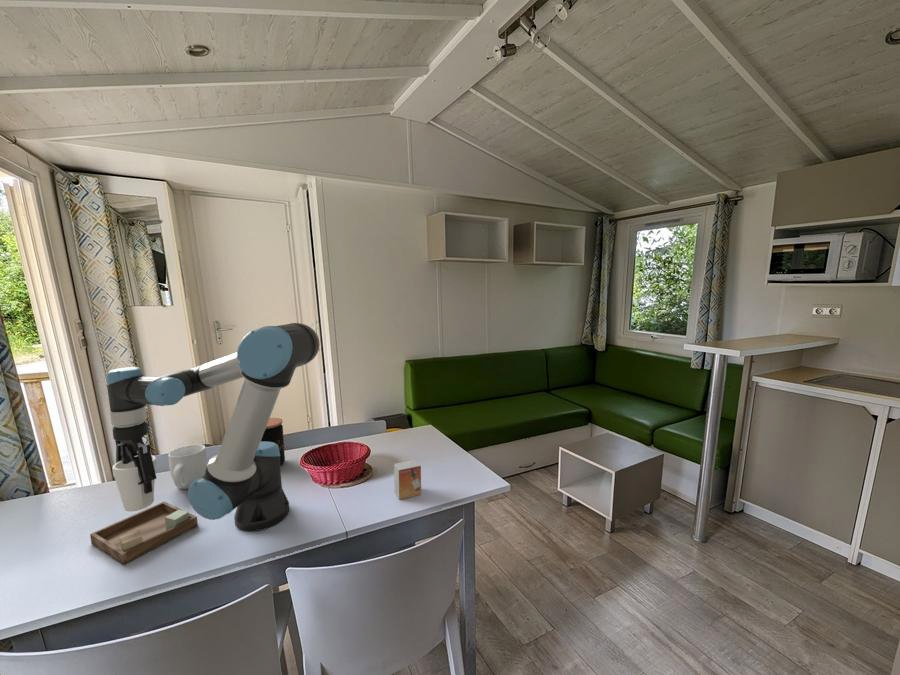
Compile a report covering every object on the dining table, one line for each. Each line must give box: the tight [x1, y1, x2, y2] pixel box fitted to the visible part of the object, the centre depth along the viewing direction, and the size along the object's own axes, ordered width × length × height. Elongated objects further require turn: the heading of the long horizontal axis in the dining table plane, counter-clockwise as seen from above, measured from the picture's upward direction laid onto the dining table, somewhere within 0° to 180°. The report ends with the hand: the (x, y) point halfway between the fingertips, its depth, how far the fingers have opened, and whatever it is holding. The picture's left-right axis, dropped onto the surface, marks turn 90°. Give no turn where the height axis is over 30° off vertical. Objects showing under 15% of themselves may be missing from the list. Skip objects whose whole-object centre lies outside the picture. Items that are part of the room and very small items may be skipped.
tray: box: [89, 501, 199, 566], centre depth 107 cm, size 18×18×3 cm
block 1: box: [120, 530, 143, 552], centre depth 99 cm, size 4×4×4 cm
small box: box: [393, 459, 422, 500], centre depth 127 cm, size 8×6×10 cm
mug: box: [167, 443, 208, 490], centre depth 132 cm, size 15×11×13 cm
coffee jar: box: [261, 417, 286, 467], centre depth 148 cm, size 11×11×18 cm
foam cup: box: [112, 454, 157, 512], centre depth 106 cm, size 10×9×13 cm
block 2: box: [165, 509, 190, 530], centre depth 109 cm, size 4×4×4 cm
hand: (138, 498), depth 107 cm, fingers closed on foam cup, 9 cm apart
